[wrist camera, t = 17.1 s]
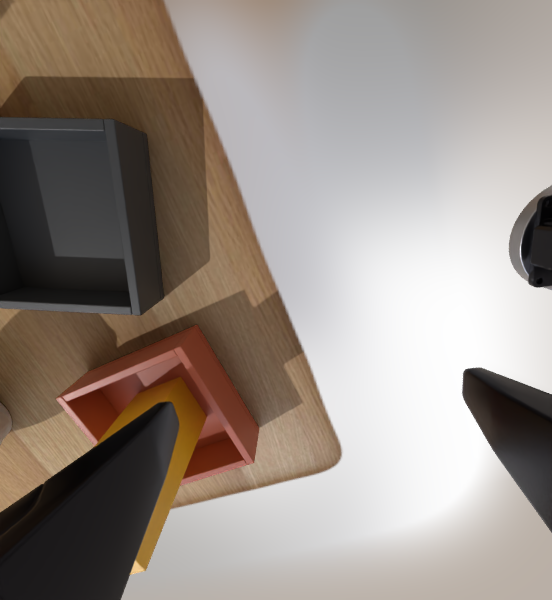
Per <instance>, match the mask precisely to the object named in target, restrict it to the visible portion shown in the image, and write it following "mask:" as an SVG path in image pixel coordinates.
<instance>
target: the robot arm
mask: <svg viewBox="0 0 552 600" xmlns="http://www.w3.org/2000/svg"><path fill="white" fill-rule="evenodd" d="M548 200H549V204H548V205H547V206H546V202H547V201H548ZM538 278H539V281H538V282H536V280H537V279H538ZM528 282H529V284H530V285H531V286H534V287H546V286H552V194H551V195H545V196H543V197H541V198H540V199H539V201H538V203H537V209H536V217H535V226H534V232H533V241H532V249H531V258H530V269H529V278H528ZM462 393H463V398H464V400H465V403H466V404H467V406H468V408H469V409H470V411H471V413H472V415H473V416H474V418H475V419H476V422H477V423H478V425H479V427H480V429H481V430H482V432H483V434H484V436H485V437H486V439H487V441H488V443H489V444H490V446H491V447H492V449H493V451H494V452H495V454H496V455H497V457H498V458H499V459H500V461H501V462H502V464H503V465H504V466H505V468H506V469H507V471H508V472H509V473H510V475H511V476H512V478H513V479H514V481H515V482H516V483H517V485H518V486H519V487H520V489H521V490H522V492H523V493H524V495H525V496H526V497H527V499H528V500H529V501H530V503H531V504H532V506H533V507H534V509H535V510H536V511H537V512H538V514H539V516H540V517H541V518H542V520H543V521H544V522H545V524H546V525H547V527H548V528H549V530H550V531H551V532H552V394H549V393H546V392H543V391H541V390H538V389H536V388H533V387H531V386H528V385H525V384H523V383H520V382H517V381H515V380H512V379H509V378H507V377H504V376H502V375H499V374H496V373H494V372H491V371H488V370H486V369H483V368H470V369H466V370H465V371H464V373H463V391H462ZM178 431H179V419H178V416H177V414H176V411H175V408H174V405H173V403H172V402H170V401H166V402H159V403H157V404H155V405H154V406H153V407H151V408H150V409H148V410H147V411H145V412H144V413H143V414H141V415H140V416H138V417H137V418H135V419H134V420H133V421H131V422H130V423H128V424H127V425H125V426H124V427H123V428H121V429H120V430H118V431H117V432H115V433H114V434H113V435H111V436H110V437H108V438H107V439H105V440H104V441H103V442H101V443H100V444H98V445H97V446H95V447H94V448H93V449H91V450H90V451H88V452H87V453H85V454H84V455H83V456H81V457H80V458H78V459H77V460H75V461H74V462H73V463H71V464H70V465H68V466H67V467H65V468H64V469H63V470H61V471H60V472H58V473H57V474H55V475H54V476H53V477H51V478H50V479H48V480H47V481H45V483H44V484H41V485H40V486H38V487H37V488H35V489H34V490H32V491H31V492H30V493H28V494H27V495H25V496H24V497H22V498H21V499H19V500H18V501H16V502H15V503H14V504H12V505H11V506H9V507H8V508H6V509H5V510H3V511H2V512H0V600H121V597H122V595H123V592H124V589H125V587H126V584H127V581H128V578H129V576H130V573H131V570H132V568H133V565H134V562H135V560H136V557H137V554H138V552H139V549H140V546H141V544H142V541H143V538H144V535H145V533H146V530H147V527H148V525H149V522H150V519H151V517H152V514H153V511H154V509H155V506H156V503H157V500H158V498H159V495H160V492H161V490H162V487H163V484H164V481H165V479H166V476H167V472H168V469H169V465H170V461H171V458H172V454H173V450H174V446H175V443H176V439H177V435H178Z"/></svg>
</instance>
